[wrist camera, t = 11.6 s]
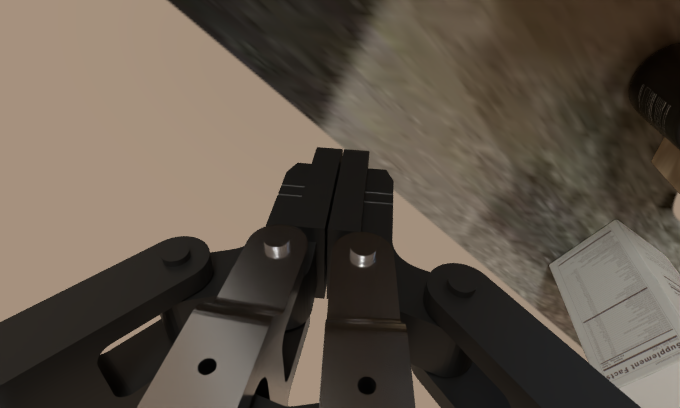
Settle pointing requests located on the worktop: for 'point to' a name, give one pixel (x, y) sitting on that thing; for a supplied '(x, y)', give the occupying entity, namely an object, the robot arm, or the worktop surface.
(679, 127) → the supplement bottle
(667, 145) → the stop bay
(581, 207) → the worktop surface
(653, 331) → the supplement box
